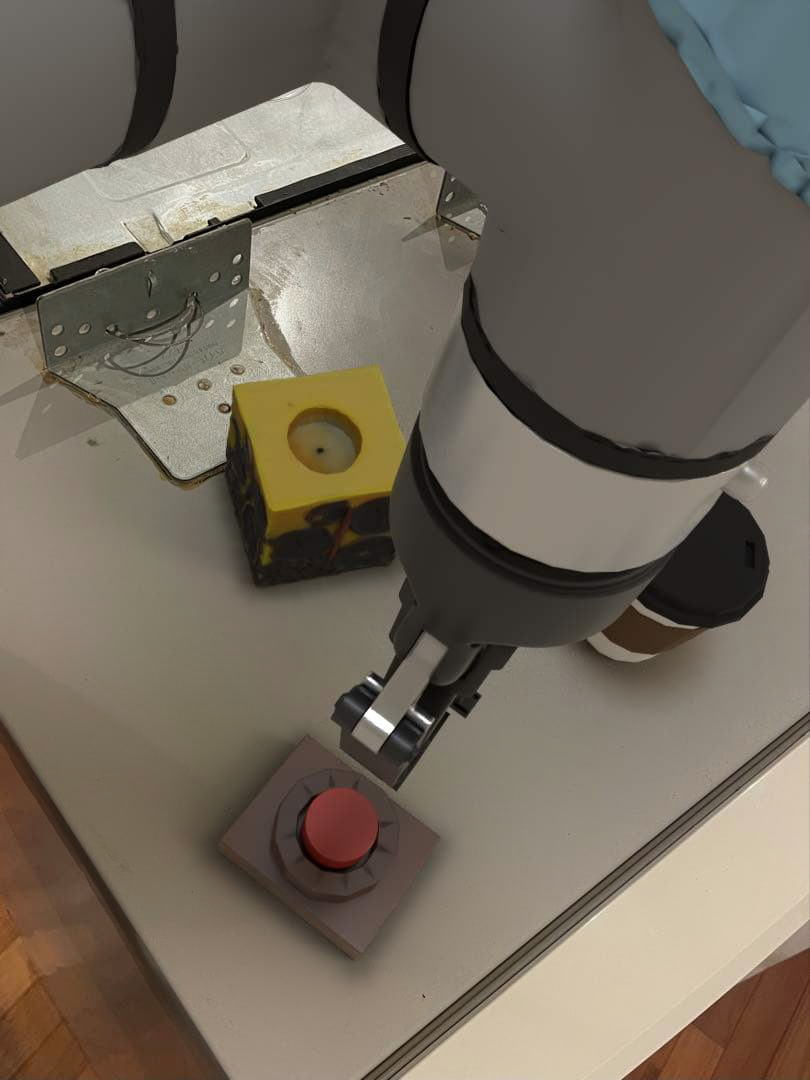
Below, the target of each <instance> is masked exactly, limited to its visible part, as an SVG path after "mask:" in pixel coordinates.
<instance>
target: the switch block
mask: <svg viewBox="0 0 810 1080" xmlns="http://www.w3.org/2000/svg"><path fill="white" fill-rule="evenodd" d="M333 788H348V789H352V790H355V791H357V792H359V793H360V794H362V795H363V796H365V797H366V798H367V799H368V800H369V802H370V803H371V804H372V806H373V808H374V810H375V812H376V815H377V819H378V831H377V836H376V839H375V841H374V843H373V845H372V846H371V848H370V849H369V850H368V852H367V853H366V854H365V856H364V857H363V858H362V859H361V860H360V861H359V862H357V863H356V864H354V865H352V866H349V867H346V868H340V869H335V868H329V867H326V866H323V865H321V864H319V863H318V862H316V861H315V860H314V859H313V858H312V857H311V856H310V855H309V854H308V852H307V850H306V849H305V846H304V844H303V841H302V833H301V830H302V823H303V820H304V817H305V815H306V813H307V811H308V808H309V806H310V805H311V803H312V802H313V800H314V799H315V798H316V797H317V796H318V795H320V794H321V793H323V792H325V791H327V790H329V789H333ZM441 839H442V837H441V836H440V835H439V834H437V833H436V832H434V831H433V830H432V829H431V828H430V827H428V826H427V825H426V824H424V823H423V822H422V821H420V820H419V819H418V818H416V817H415V816H414V815H412V814H411V813H410V812H409V811H408V810H406V809H405V808H404V807H402V806H401V805H400V804H398V803H397V802H396V801H395V800H393V799H392V798H391V797H390V796H389V795H388V793H387V792H386V791H385V790H383V789H382V788H381V787H380V786H378V785H377V784H375V782H373V781H372V780H370V779H369V778H368V777H367V776H366V775H364V774H363V773H361V772H357V771H355V770H354V769H353V768H352V767H351V766H349V765H348V764H347V763H346V762H344V761H342V760H341V759H340V758H339V757H337V756H336V755H335V754H334V753H332V752H331V751H330V750H328V748H326V747H324V746H323V745H322V744H321V743H320V742H318V741H316V740H315V739H314V738H313V737H312V736H311V735H309V734H305V735H304V736H303V738H302V739H301V740H300V741H299V742H298V744H297V745H296V746H295V747H294V748H293V750H291V752H290V753H289V755H288V756H287V757H286V758H285V760H284V761H282V763H281V764H280V765H279V767H278V768H277V769H276V770H275V772H274V773H273V774H272V775H271V777H270V778H269V779H268V780H267V781H266V782H265V784H264V785H263V786H262V787H261V788H260V789H259V791H258V793H256V794H255V796H254V797H253V798H252V800H251V801H250V802H249V803H248V804H247V806H245V808H244V809H243V810H242V812H241V813H240V814H239V816H237V818H236V819H235V820H234V821H233V823H232V824H231V825H230V826H229V827H228V828H227V830H226V831H225V832H224V833H223V835H222V836H220V838H219V841H218V846H217V851H218V852H219V853H221V854H222V855H223V856H224V857H226V859H228V860H229V861H230V862H232V864H234V865H236V866H237V867H238V868H239V869H241V870H242V871H243V872H244V873H246V875H248V876H249V877H251V879H253V880H254V881H255V882H257V883H258V884H259V885H260V886H261V887H262V888H264V889H265V890H266V891H268V892H269V893H270V894H272V896H274V897H275V898H277V899H278V900H279V901H280V902H281V903H282V904H284V905H285V906H286V907H287V908H289V909H290V910H292V911H293V912H294V913H295V914H296V915H298V916H299V918H301V919H302V920H304V921H305V922H306V923H307V924H309V925H310V926H311V927H312V928H314V929H315V930H316V931H317V932H319V933H320V934H321V935H322V936H324V937H325V939H327V940H328V941H330V942H331V943H332V944H333V945H335V946H336V947H337V948H338V949H340V950H341V951H342V952H343V953H345V954H346V955H347V956H348V957H349V958H351V959H352V960H353V961H357V960H358V959H359V958H360V957H362V956H363V954H364V953H365V951H366V950H367V949H368V948H369V946H370V944H371V943H372V941H373V940H374V938H375V937H376V935H377V934H378V933H379V931H380V930H381V928H382V926H383V925H384V923H386V920H387V919H388V918H389V916H390V915H391V913H392V912H393V910H394V908H395V907H396V906H397V904H398V903H399V902H400V900H401V899H402V896H403V895H404V894H405V892H406V891H407V889H408V888H409V886H410V885H411V883H412V882H413V880H414V879H415V878H416V876H417V875H418V873H419V871H420V870H421V868H422V867H423V866H424V864H425V863H426V861H427V860H428V859H429V857H430V856H431V854H432V853H433V851H434V849H435V848H436V847H437V845H438V844H439V842H440V840H441Z"/></svg>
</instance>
